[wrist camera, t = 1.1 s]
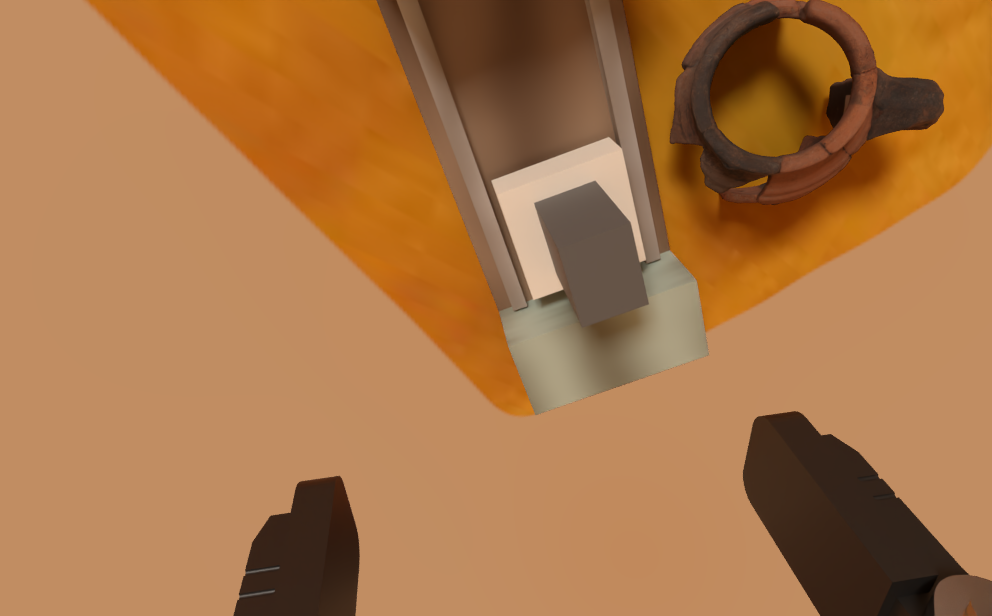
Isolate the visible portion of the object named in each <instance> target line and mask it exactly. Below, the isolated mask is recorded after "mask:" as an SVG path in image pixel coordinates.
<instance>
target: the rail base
mask: <svg viewBox="0 0 992 616" xmlns="http://www.w3.org/2000/svg"><path fill="white" fill-rule="evenodd" d="M377 3H378V5H379V8H380V10H381V13H382V15H383V18H384V20H385V23H386V25H387V28H388V30H389V33H390V36H391V38H392V41H393V43H394V46H395V48H396V51H397V53H398V56H399V58H400V61H401V64H402V66H403V69H404V71H405V74H406V76H407V79H408V81H409V84H410V86H411V89H412V92H413V94H414V97H415V99H416V102H417V104H418V107H419V109H420V112H421V114H422V117H423V119H424V122H425V125H426V127H427V130H428V132H429V135H430V137H431V140H432V142H433V145H434V147H435V150H436V153H437V155H438V158H439V160H440V163H441V165H442V168H443V170H444V173H445V175H446V178H447V181H448V183H449V186H450V188H451V191H452V193H453V196H454V198H455V201H456V203H457V206H458V209H459V211H460V214H461V216H462V219H463V221H464V224H465V226H466V229H467V231H468V234H469V236H470V239H471V242H472V244H473V247H474V249H475V252H476V254H477V257H478V259H479V262H480V264H481V267H482V270H483V272H484V275H485V277H486V280H487V282H488V285H489V287H490V290H491V292H492V295H493V298H494V300H495V303H496V305H497V308H498V310H499V313H500V317H501V321H502V325H503V328H504V332H505V336H506V340H507V343H508V347H509V349H510V352H511V354H512V357H513V359H514V362H515V364H516V367H517V369H518V372H519V374H520V377H521V380H522V382H523V385H524V387H525V390H526V392H527V395H528V397H529V400H530V402H531V405H532V407H533V410H534V412H535V415H538V414H541V413H544V412H546V411H549V410H552V409H555V408H558V407H561V406H564V405H567V404H570V403H572V402H575V401H578V400H581V399H584V398H587V397H589V396H593V395H596V394H598V393H601V392H604V391H607V390H610V389H613V388H616V387H619V386H622V385H625V384H627V383H630V382H633V381H636V380H639V379H642V378H645V377H648V376H650V375H653V374H656V373H659V372H662V371H665V370H668V369H671V368H673V367H677V366H679V365H682V364H685V363H688V362H691V361H694V360H697V359H699V358H702V357H705V356H708V355H709V352H708V345H707V340H706V333H705V327H704V321H703V316H702V310H701V304H700V298H699V292H698V286H697V280H696V279H695V278H694V277H693V276H692V275H691V273H690V272H689V271H688V270H687V269H686V268H685V267H684V266H683V264H682V263H681V262H680V261H679V260H678V259H677V258H676V257H675V255H674V254H673V253H672V252H671V251H670V248H669V243H668V238H667V232H666V227H665V222H664V217H663V211H662V206H661V201H660V196H659V190H658V185H657V180H656V175H655V169H654V164H653V159H652V154H651V148H650V143H649V138H648V132H647V127H646V122H645V117H644V111H643V106H642V101H641V96H640V90H639V85H638V80H637V75H636V69H635V64H634V59H633V54H632V48H631V43H630V38H629V32H628V27H627V22H626V17H625V11H624V6H623V1H622V0H377ZM608 137H609V138H610V139H612V140H613V141H614V142H615V143H616V144H617V145H618V146H619V147H620V148H622V151H623V156H624V161H625V165H626V170H627V174H628V179H629V184H630V188H631V193H632V197H633V202H634V207H635V211H636V216H637V220H638V225H639V230H640V234H641V239H642V243H643V248H644V253H645V257H646V260H645V261H642V262H640V266H641V271H642V275H643V279H644V284H645V288H646V293H647V297H648V302H649V304H648V305H646V306H643V307H640V308H637V309H634V310H631V311H629V312H626V313H623V314H620V315H617V316H614V317H612V318H609V319H606V320H603V321H600V322H597V323H595V324H592V325H589V326H586V327H583V328H582V327H581V325H580V323H579V320H578V318H577V316H576V314H575V312H574V310H573V308H572V306H571V304H570V302H569V299H568V297H567V295H566V293H565V291H564V289H563V290H561V291H558V292H555V293H552V294H549V295H547V296H544V297H541V298H538V299H535V300H533V297H532V295H531V292H530V289H529V287H528V284H527V281H526V279H525V276H524V273H523V270H522V267H521V264H520V261H519V259H518V256H517V253H516V250H515V247H514V244H513V241H512V239H511V236H510V233H509V230H508V227H507V224H506V221H505V219H504V216H503V213H502V210H501V207H500V204H499V202H498V199H497V196H496V193H495V190H494V187H493V184H492V182H491V180H494V179H497V178H499V177H502V176H505V175H508V174H510V173H513V172H516V171H518V170H521V169H524V168H527V167H529V166H532V165H535V164H537V163H540V162H543V161H545V160H548V159H551V158H554V157H556V156H559V155H562V154H564V153H567V152H570V151H573V150H575V149H578V148H581V147H583V146H586V145H589V144H591V143H594V142H597V141H600V140H602V139H605V138H608Z"/></svg>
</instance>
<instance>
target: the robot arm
mask: <svg viewBox="0 0 992 616" xmlns="http://www.w3.org/2000/svg"><path fill="white" fill-rule="evenodd" d="M743 481H744V486H745V490H746V493H747V496H748V499H749V500H750V503H751V504H752V506H753V508H754V509H755V511H756V512H757V514H758V516H759V517H760V519H761V521H762V522H763V524H764V525H765V527H766V529H767V530H768V532H769V533H770V535H771V537H772V538H773V540H774V541H775V543H776V545H777V546H778V548H779V550H780V551H781V553H782V555H783V556H784V558H785V559H786V561H787V563H788V564H789V566H790V567H791V569H792V571H793V572H794V574H795V575H796V577H797V579H798V580H799V582H800V584H801V585H802V587H803V588H804V590H805V592H806V593H807V595H808V597H809V598H810V600H811V601H812V603H813V605H814V606H815V608H816V609H817V611H818V613H819V614H820V616H992V581H990V580H987V579H984V578H980V577H977V576H970V575H969V574H968V573H967V572H966V571H965V570H964V569H963V568H961V566H960V565H959V564H958V563H957V562H956V561H955V560H954V558H953V557H952V556H951V555H950V554H949V553H948V552H947V551H946V550H945V549H944V547H943V546H942V545H941V544H940V543H939V542H938V541H937V539H936V538H935V537H934V536H933V535H932V534H931V533H930V532H929V531H928V529H927V528H926V527H925V526H924V525H923V524H922V523H921V522H920V520H919V519H918V518H917V517H916V516H915V515H914V514H913V513H912V512H911V510H910V509H909V508H908V507H907V506H906V505H905V504H904V503H903V501H902V500H901V499H900V498H896V497H895V493H894V491H893V490H892V489H891V488H890V487H889V486H888V485H887V484H886V482H885V481H884V480H883V479H879V477H878V474H877V472H876V471H875V470H874V469H873V468H872V467H871V466H870V465H869V464H868V463H867V461H866V460H865V459H864V458H863V457H862V456H861V455H860V454H859V452H857V451H856V450H854V449H853V448H851V447H850V446H848V445H847V444H845V443H843V442H842V441H840V440H839V439H837V438H836V437H834V436H833V435H831V434H828V435H820V434H819V433H818V431H816V429H815V428H814V427H813V425H812V424H811V423H810V422H809V421H808V420H807V418H806V417H805V416H804V415H802V414H801V413H799V412H796V411H794V412H787V413H780V414H773V415H766V416H759V417H757V418H756V419H755V420H754V423H753V427H752V432H751V436H750V441H749V446H748V450H747V455H746V460H745V465H744V470H743ZM359 557H360V556H359V539H358V532H357V528H356V524H355V521H354V517H353V514H352V511H351V507H350V504H349V501H348V497H347V494H346V490H345V487H344V484H343V481H342V478H341V477H340V476H335V477H329V478H322V479H315V480H308V481H301V482H299V483H298V484H297V487H296V490H295V495H294V499H293V504H292V509H291V513H286V514H279V515H273V516H270V517H269V519H268V521H267V522H266V523H265V525H264V526H263V528H262V529H261V531H260V532H259V533H258V535H257V536H256V538H255V539H254V541H253V542H252V547H251V550H250V554H249V558H248V562H247V565H246V569H245V571H246V575H245V576H244V577H243V581H242V585H241V589H240V593H239V595H240V598H239V600H238V601H237V604H236V608H235V612H234V616H355V613H356V599H357V586H358V574H359Z"/></svg>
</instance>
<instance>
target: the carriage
mask: <svg viewBox="0 0 992 616" xmlns="http://www.w3.org/2000/svg"><path fill="white" fill-rule="evenodd" d="M491 182H492V184H493V187H494V190H495V193H496V196H497V199H498V202H499V204H500V207H501V210H502V213H503V216H504V219H505V221H506V224H507V227H508V230H509V233H510V236H511V239H512V241H513V244H514V247H515V250H516V253H517V256H518V259H519V261H520V264H521V267H522V270H523V273H524V276H525V279H526V281H527V284H528V287H529V289H530V292H531V295H532V297H533V300H535V299H538V298H541V297H544V296H547V295H549V294H552V293H555V292H558V291H561V290H563V289H564V291H565V293H566V295H567V297H568V299H569V302H570V304H571V306H572V308H573V310H574V312H575V314H576V316H577V318H578V320H579V323H580V325H581V327H582V328H583V327H586V326H589V325H592V324H595V323H597V322H600V321H603V320H606V319H609V318H612V317H614V316H617V315H620V314H623V313H626V312H629V311H631V310H634V309H637V308H640V307H643V306H646V305H648V304H649V302H648V297H647V293H646V288H645V284H644V279H643V275H642V271H641V266H640V262H642V261H645V260H646V257H645V253H644V248H643V243H642V239H641V234H640V230H639V225H638V220H637V216H636V211H635V207H634V202H633V197H632V193H631V188H630V184H629V179H628V174H627V170H626V165H625V161H624V156H623V151H622V148H620V147H619V146H618V145H617V144H616V143H615V142H614V141H613V140H612V139H610V138H609V137H608V138H605V139H602V140H600V141H597V142H594V143H591V144H589V145H586V146H583V147H581V148H578V149H575V150H573V151H570V152H567V153H564V154H562V155H559V156H556V157H554V158H551V159H548V160H545V161H543V162H540V163H537V164H535V165H532V166H529V167H527V168H524V169H521V170H518V171H516V172H513V173H510V174H508V175H505V176H502V177H499V178H497V179H494V180H491Z"/></svg>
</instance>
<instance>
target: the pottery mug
mask: <svg viewBox="0 0 992 616" xmlns="http://www.w3.org/2000/svg"><path fill="white" fill-rule="evenodd" d="M779 18H793V19H800V20H801V21H803V22H804V23H807V24H810V25H813V26H815V27H818V28H820V29H821V30H823V31H825V32H826V33H827V34H829V35H830V36H831V37H832V38H833V39H834V40H835V41H836V42H837V43H838V44H839V45H840V46H841V48H842V49H843V51H844V53H845V55H846V57H847V59H848V62H849V65H850V71H851V77H852V78H850V79H846V80H845V81H843V82H836V83H834V84H833V85H832V86H831V87H830V95H829V103H828V107H827V111H826V114H827V117H828V118H829V120H830V122H831V125H832V127H833V130H832V131H831V132H830V133H829V134H828V135H827V136H819V137H815V136H805V137H804V139H803V142H802V144H801V146H800V149H799V151H798V152H797V153H793V154H789V155H782V156H778V157H767V156H760V155H756V154H752V153H749V152H747V151H745V150H743V149H741V148H739V147H738V146H736V145H735V144H733V143H732V142H731V141H730V140H728V139H727V138H726V137H725V135H724V134H723V133H722V132H721V131H720V130H719V129H718V128H717V125H716V122H715V120H714V117H713V114H712V108H711V105H710V87H711V82H712V78H713V75H714V72H715V70H716V68H717V66H718V63H719V61H720V60H721V59H722V57H723V55H724V54H725V53H726V51H727V50H728V49H729V48H730V46H731V45H732V44H733V43H734V42H735V41H736V40H737V39H739V38H740V37H741V36H743V35H744V34H746V33H748V32H749V31H751V30H752V29H754V28H757V27H758V26H761V25H764V24H767V23H769V22H771V21H773V20H775V19H779ZM682 67H683V69H684V70H685V71H684V72H683V73H682V74H681V75H680V76H679V77H678V78H677V81H676V86H675V103H674V105H675V111H674V119H673V126H672V129H671V133H670V143H671V144H674V143H682V144H695V145H700V146H702V147H703V148H704V150H703V153H702V155H701V158H700V162H701V169H702V172H703V173H704V175H705V185H706V186H707V187H709V188H710V189H712V190H714V191H715V192H717V193H719V194H720V195H721V197H722V199H724V200H727V201H730V202H735V203H757V202H759V203H761V204H764V205H768V204H771V205H775V204H779V203H783V202H787V201H792V200H795V199H798V198H800V197H802V196H804V195H806V194H808V193H810V192H812V191H813V190H815V189H817V188H818V187H820V186H821V185H823V184H824V183H826V182H827V181H828V180H829V179H831V178H832V177H834V176H835V175H836V174H837V173H838V172H839V171H841V170H842V169H843V168H844V167H845V166H846V165H847V164H848V162H849V161H850V159H851V155H852V154H854V153H855V152H857V151H858V150H859V148H860V147H861V146H862V145H863V144H864V143H865V142H866V140H870V139H872V138H875V137H878V136H881V135H884V134H888V133H892V132H896V131H900V130H922V129H927V128H929V127H930V126H931V125H933V124H935V123H936V122H937V120H938V119H939V117H940V116H941V114H942V113H943V111H944V105H943V98H944V94H943V92H942V90H941V89H940V87H939V86H938V84H937V83H936V82H935V81H933V80H929V79H919V78H897V77H892V76H889V75H887V74H885V73H884V72H883V71H882V70H881V69H879V68H877V67H876V60H875V57H874V52H873V50H872V48H871V45H870V42H869V40H868V38H867V36H866V34H865V33H864V31H863V30H862V28H861V26H860V25H859V24H858V23H857V22H856V21H855V20H854V19H853V18H852V17H851V16H850V15H849V14H847V13H845V12H844V11H843V10H842V9H841V8H839V7H837V6H834V5H832V4H829V3H827V2H824V1H821V0H809V1H808V2H804V1H795V0H751V1H749V2H748V3H740V4H738V5H735V6H733V7H732V8H730V9H729V10H728V11H726V12H725V13H724V14H722V15H721V16H720V17H719V18H718V19H717V20H716V21H714V22H713V23H712V24H711V25H710V26H709V27H708V28H707V29H706V30H705V31H704V32H703V33H702V34H701V35H700V37H699V38H698V39H697V40H696V41H695V43H694V44H693V46H692V48H691V49H690V50H689V52H688V54H687V55H686V56H685V58H684V60H683V62H682ZM766 176H768V180H767V182H766V183H764V184H761V185H759V186H754V187H748V188H739V189H737V188H735V187H739V186H743V185H745V184H747V183H748V182H751V181H754V180H757V179H759V178H763V177H766Z"/></svg>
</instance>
